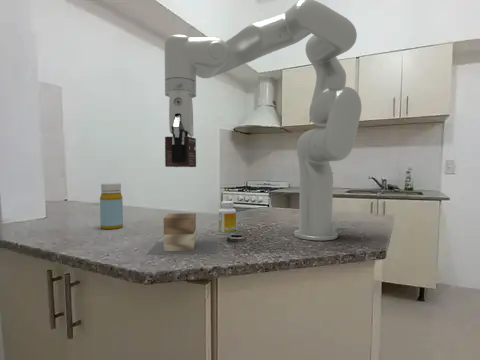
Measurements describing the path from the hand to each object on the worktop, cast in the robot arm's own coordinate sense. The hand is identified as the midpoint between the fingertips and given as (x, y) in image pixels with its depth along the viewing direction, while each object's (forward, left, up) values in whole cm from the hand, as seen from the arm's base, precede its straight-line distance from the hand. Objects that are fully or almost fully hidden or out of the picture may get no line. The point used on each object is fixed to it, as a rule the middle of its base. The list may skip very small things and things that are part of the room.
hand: (180, 161), depth 79 cm
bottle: (+27, -30, -22) cm, 46 cm away
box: (0, 0, -2) cm, 2 cm away
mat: (-1, 0, -22) cm, 22 cm away
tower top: (0, 0, -17) cm, 17 cm away
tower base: (0, 0, -21) cm, 21 cm away
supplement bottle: (-12, -20, -22) cm, 32 cm away
